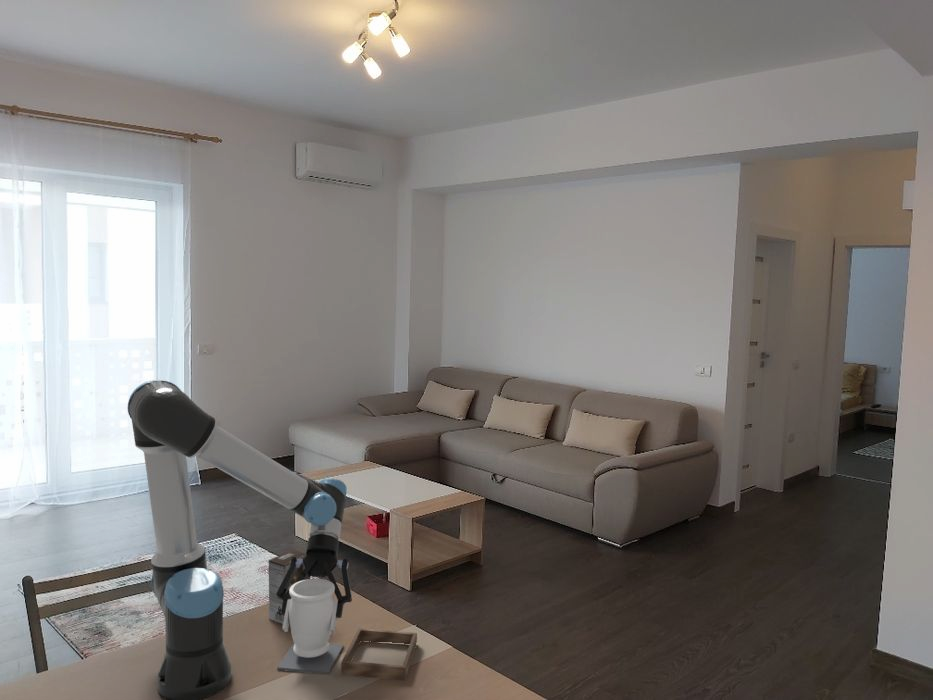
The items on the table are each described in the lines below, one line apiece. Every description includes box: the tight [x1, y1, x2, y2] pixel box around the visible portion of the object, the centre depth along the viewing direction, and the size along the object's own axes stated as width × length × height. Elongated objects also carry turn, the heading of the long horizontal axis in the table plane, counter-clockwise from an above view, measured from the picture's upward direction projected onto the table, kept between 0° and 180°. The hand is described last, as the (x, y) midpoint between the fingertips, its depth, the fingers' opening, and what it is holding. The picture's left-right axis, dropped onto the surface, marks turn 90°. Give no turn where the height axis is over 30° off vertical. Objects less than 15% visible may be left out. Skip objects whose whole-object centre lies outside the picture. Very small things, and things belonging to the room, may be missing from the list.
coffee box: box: [268, 549, 311, 625], centre depth 184 cm, size 9×6×16 cm
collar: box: [340, 627, 418, 682], centre depth 165 cm, size 15×16×3 cm
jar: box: [289, 578, 335, 658], centre depth 164 cm, size 11×10×15 cm
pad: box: [276, 642, 344, 675], centre depth 165 cm, size 12×12×1 cm
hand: (308, 630), depth 161 cm, fingers closed on jar, 10 cm apart
